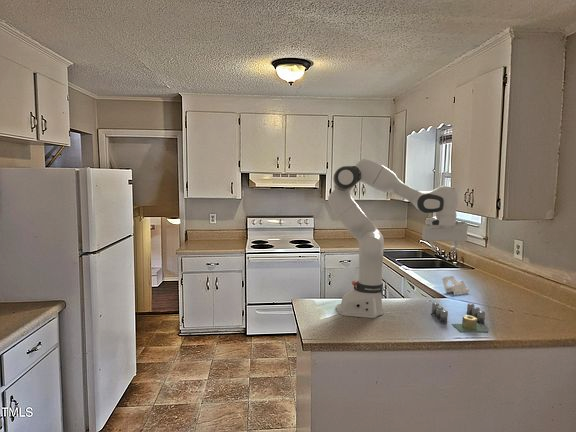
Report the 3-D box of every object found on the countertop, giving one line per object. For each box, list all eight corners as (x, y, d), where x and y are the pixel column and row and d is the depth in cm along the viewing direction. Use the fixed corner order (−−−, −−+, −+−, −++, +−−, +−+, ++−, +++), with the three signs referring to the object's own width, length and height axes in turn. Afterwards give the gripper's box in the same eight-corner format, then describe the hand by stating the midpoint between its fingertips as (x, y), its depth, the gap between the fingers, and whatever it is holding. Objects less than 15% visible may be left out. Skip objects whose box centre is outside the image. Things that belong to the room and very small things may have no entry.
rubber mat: (459, 331, 167) (459, 330, 167) (451, 324, 175) (451, 323, 175) (487, 332, 167) (487, 331, 167) (478, 325, 175) (478, 324, 175)
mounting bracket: (461, 293, 227) (456, 275, 230) (470, 292, 222) (465, 273, 225) (446, 296, 222) (441, 277, 224) (455, 295, 216) (450, 275, 219)
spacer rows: (441, 323, 176) (442, 312, 176) (430, 312, 189) (431, 302, 189) (485, 323, 177) (486, 313, 176) (471, 313, 190) (472, 303, 189)
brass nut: (466, 330, 168) (467, 319, 168) (460, 324, 174) (461, 314, 173) (478, 330, 168) (479, 320, 168) (471, 325, 174) (472, 315, 174)
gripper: (464, 220, 185) (462, 249, 187) (421, 219, 185) (419, 248, 186) (471, 222, 179) (468, 252, 180) (426, 221, 178) (424, 251, 180)
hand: (443, 250), depth 183 cm, fingers open, 8 cm apart
